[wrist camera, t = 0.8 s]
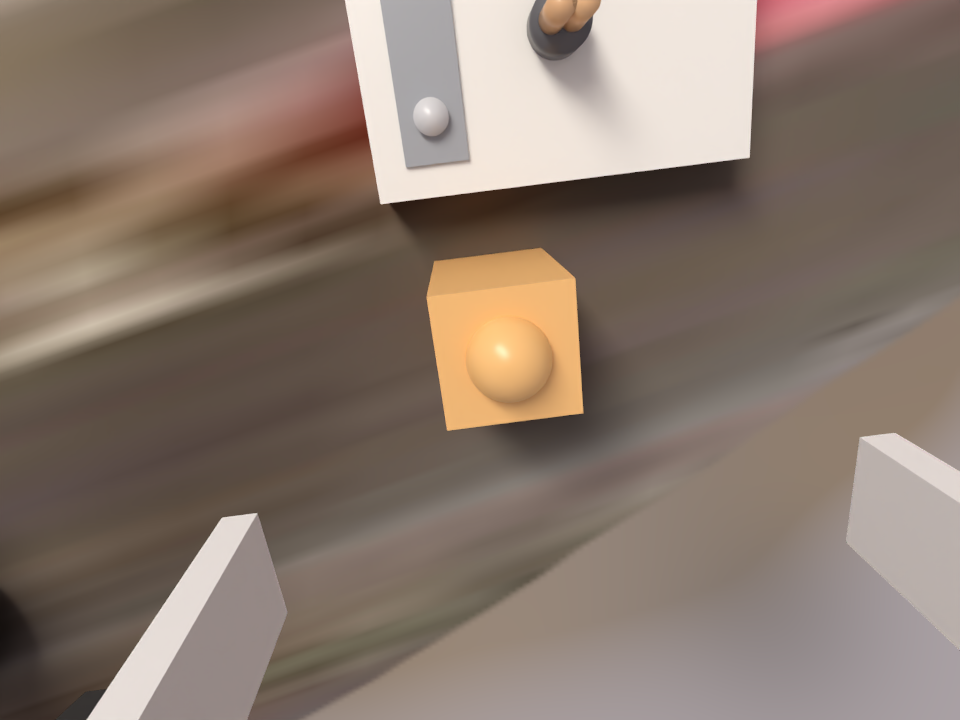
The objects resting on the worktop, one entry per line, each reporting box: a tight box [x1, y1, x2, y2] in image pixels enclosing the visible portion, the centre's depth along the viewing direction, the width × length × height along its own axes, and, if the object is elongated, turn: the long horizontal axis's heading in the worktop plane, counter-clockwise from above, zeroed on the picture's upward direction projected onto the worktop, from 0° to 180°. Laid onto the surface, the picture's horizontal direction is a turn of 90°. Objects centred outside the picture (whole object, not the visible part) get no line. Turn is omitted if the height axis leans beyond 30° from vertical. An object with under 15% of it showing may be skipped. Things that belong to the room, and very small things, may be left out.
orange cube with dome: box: [427, 248, 583, 431], centre depth 26 cm, size 6×6×11 cm
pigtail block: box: [345, 0, 757, 204], centre depth 23 cm, size 18×13×7 cm
